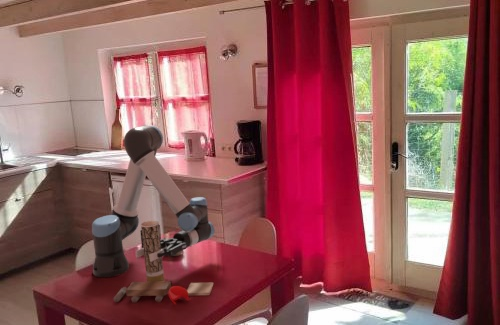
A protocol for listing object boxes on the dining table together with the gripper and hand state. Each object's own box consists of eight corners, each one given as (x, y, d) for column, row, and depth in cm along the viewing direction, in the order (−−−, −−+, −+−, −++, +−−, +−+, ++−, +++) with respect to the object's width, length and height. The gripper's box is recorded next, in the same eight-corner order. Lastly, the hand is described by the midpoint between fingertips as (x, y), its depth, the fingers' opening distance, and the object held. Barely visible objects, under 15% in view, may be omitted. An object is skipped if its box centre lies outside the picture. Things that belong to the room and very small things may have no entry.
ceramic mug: (176, 258, 215) (175, 242, 214) (161, 257, 218) (160, 241, 217) (187, 250, 225) (186, 235, 224) (172, 249, 228) (171, 234, 227)
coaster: (185, 295, 176) (185, 293, 176) (190, 285, 185) (190, 282, 185) (209, 295, 175) (209, 292, 175) (213, 284, 184) (213, 282, 184)
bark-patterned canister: (156, 287, 185) (150, 226, 181) (143, 284, 189) (137, 224, 184) (167, 281, 191) (162, 221, 186) (155, 278, 194) (149, 220, 190)
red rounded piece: (166, 299, 167) (180, 290, 166) (165, 287, 172) (178, 278, 171) (179, 311, 171) (193, 302, 171) (178, 299, 176) (191, 290, 176)
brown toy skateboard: (113, 303, 174) (111, 290, 173) (121, 292, 182) (120, 281, 181) (166, 302, 172) (165, 289, 171) (172, 291, 180) (171, 279, 180)
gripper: (203, 251, 196) (161, 270, 178) (169, 243, 208) (127, 260, 191) (201, 234, 194) (159, 251, 177) (168, 227, 207) (125, 242, 189)
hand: (143, 256), depth 184 cm, fingers open, 8 cm apart
